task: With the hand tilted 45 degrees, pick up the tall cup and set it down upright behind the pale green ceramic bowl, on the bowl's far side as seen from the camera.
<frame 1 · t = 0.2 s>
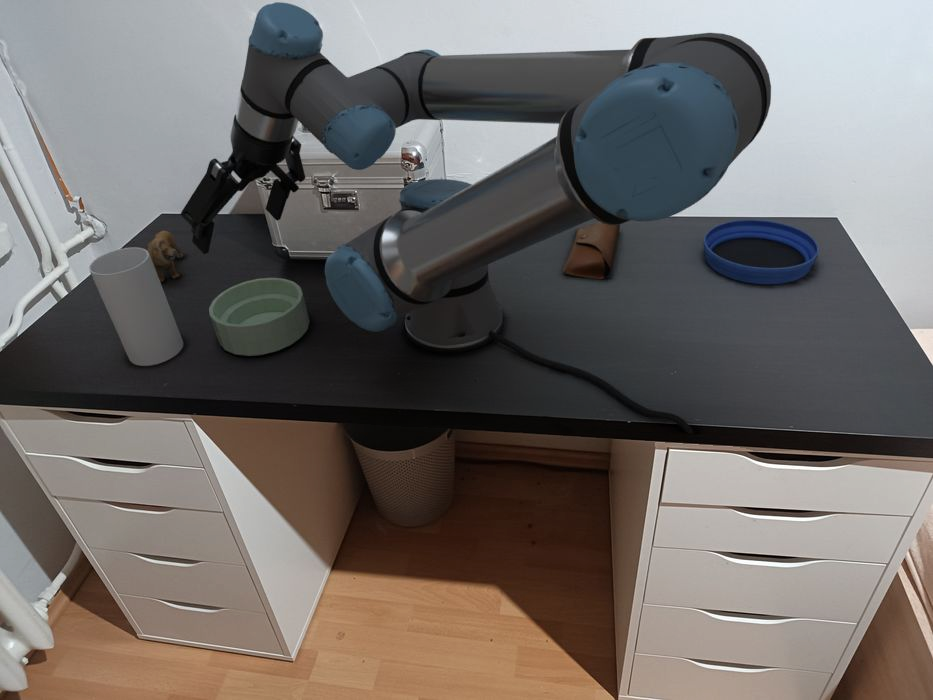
hand: (238, 230, 103), 16 cm above the table, tool tilted 35°, fingers open, 13 cm apart
sunglasses case: (592, 254, 123), on the table
ceramic bowl: (265, 332, 110), on the table
lion figurine: (173, 272, 129), on the table
cup: (156, 351, 108), on the table
blue plastic ring: (756, 261, 117), on the table
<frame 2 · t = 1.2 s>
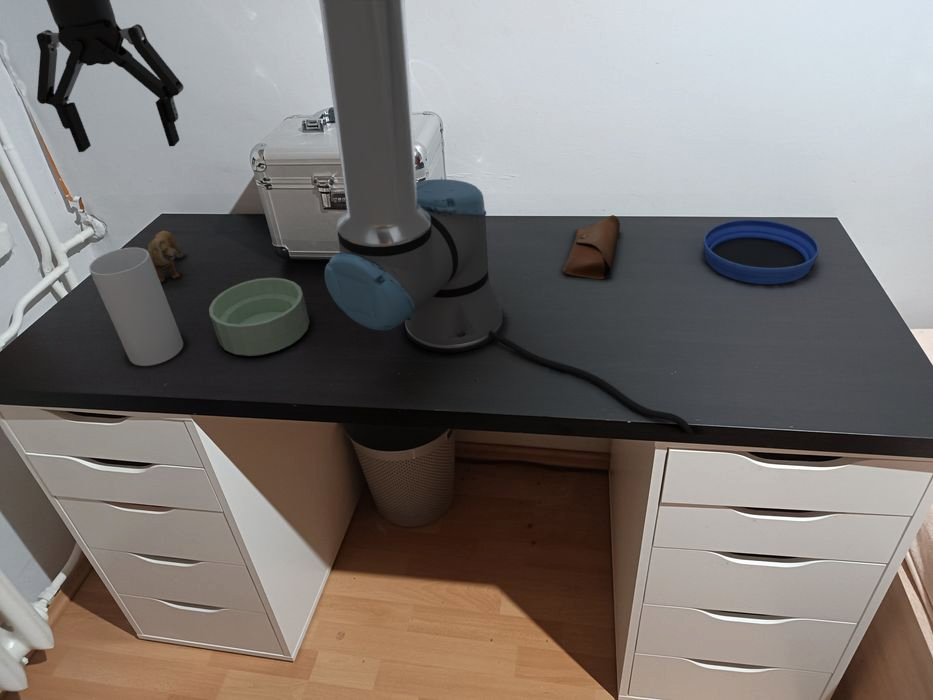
hand: (129, 146, 104), 28 cm above the table, tool pointing down, fingers open, 13 cm apart
nothing on the table moved.
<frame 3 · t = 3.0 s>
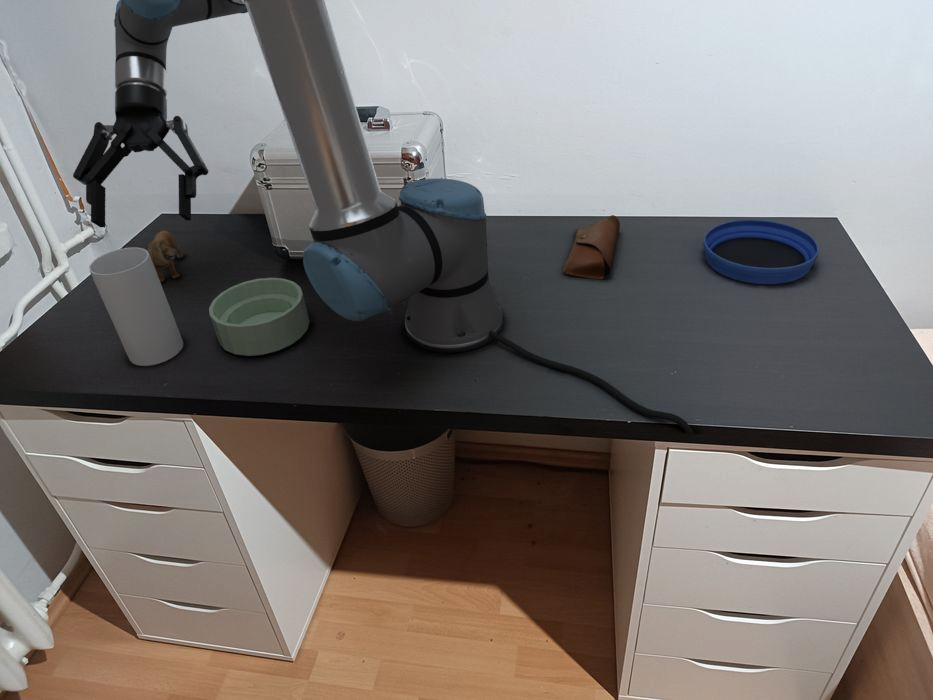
hand: (141, 221, 106), 17 cm above the table, tool tilted 45°, fingers open, 13 cm apart
nothing on the table moved.
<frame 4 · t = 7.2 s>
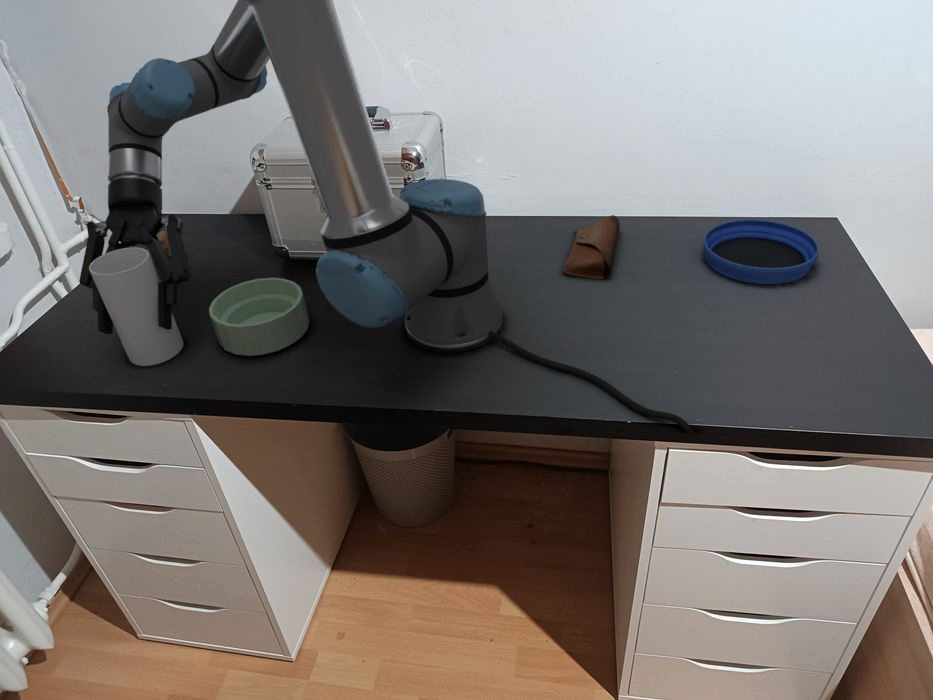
hand: (135, 329, 101), 6 cm above the table, tool tilted 45°, fingers closed on cup, 8 cm apart
cup: (156, 351, 108), on the table, touching gripper
everything else where it was.
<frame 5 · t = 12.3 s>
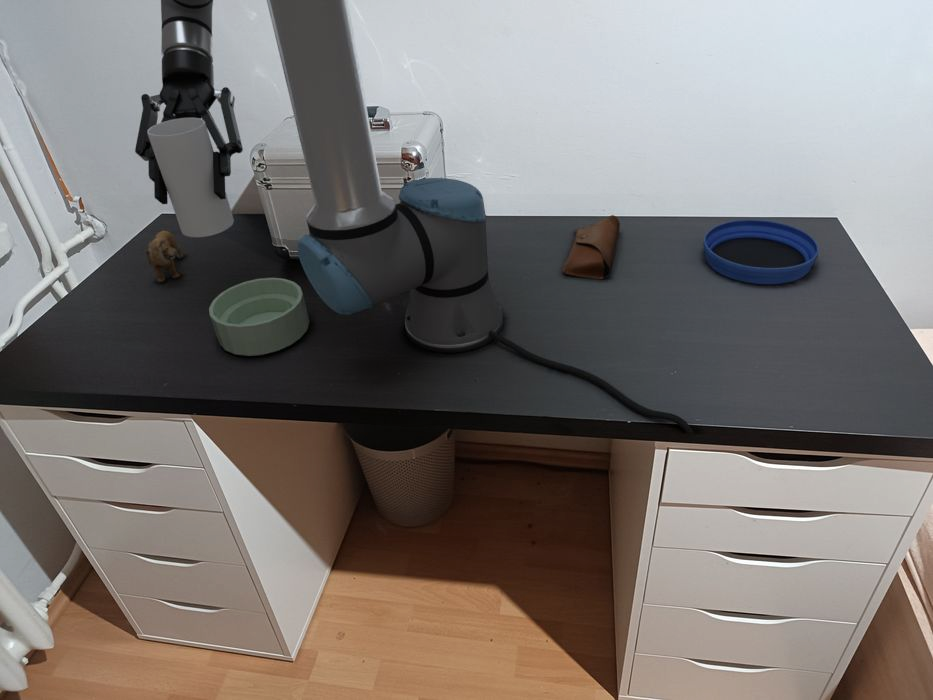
hand: (190, 198, 103), 21 cm above the table, tool tilted 45°, fingers closed on cup, 8 cm apart
cup: (208, 226, 110), point 14 cm above the table, touching gripper
everything else where it was.
when the fingers open (6 cm above the table, at t = 17.3 s): cup stays where it is, on the table.
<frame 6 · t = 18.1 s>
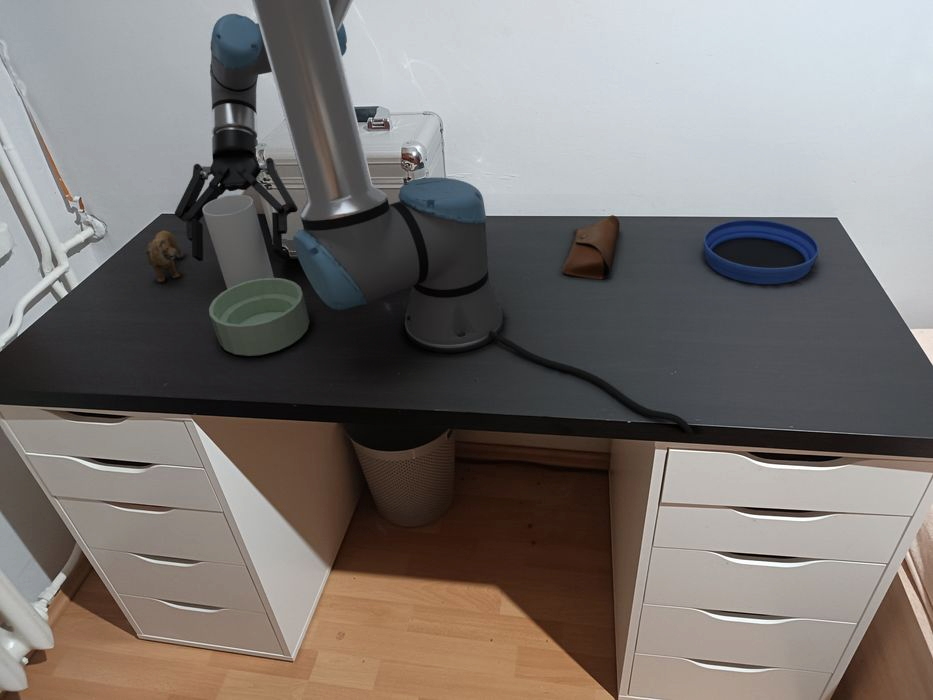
hand: (237, 255, 115), 8 cm above the table, tool tilted 45°, fingers open, 13 cm apart
cup: (252, 289, 122), on the table
everything else where it was.
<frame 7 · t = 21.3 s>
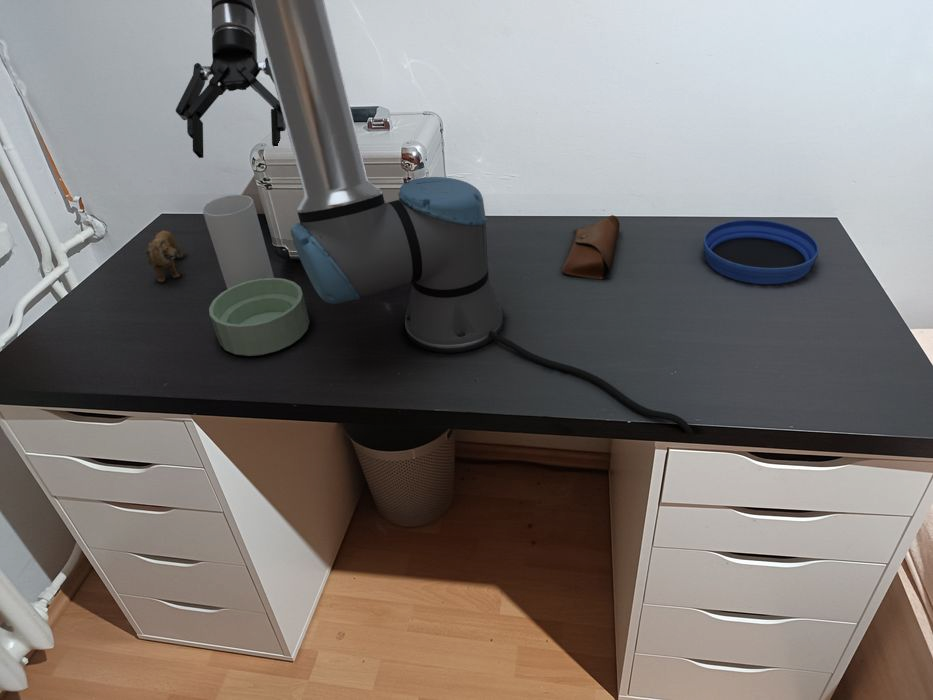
hand: (237, 151, 118), 21 cm above the table, tool tilted 45°, fingers open, 13 cm apart
nothing on the table moved.
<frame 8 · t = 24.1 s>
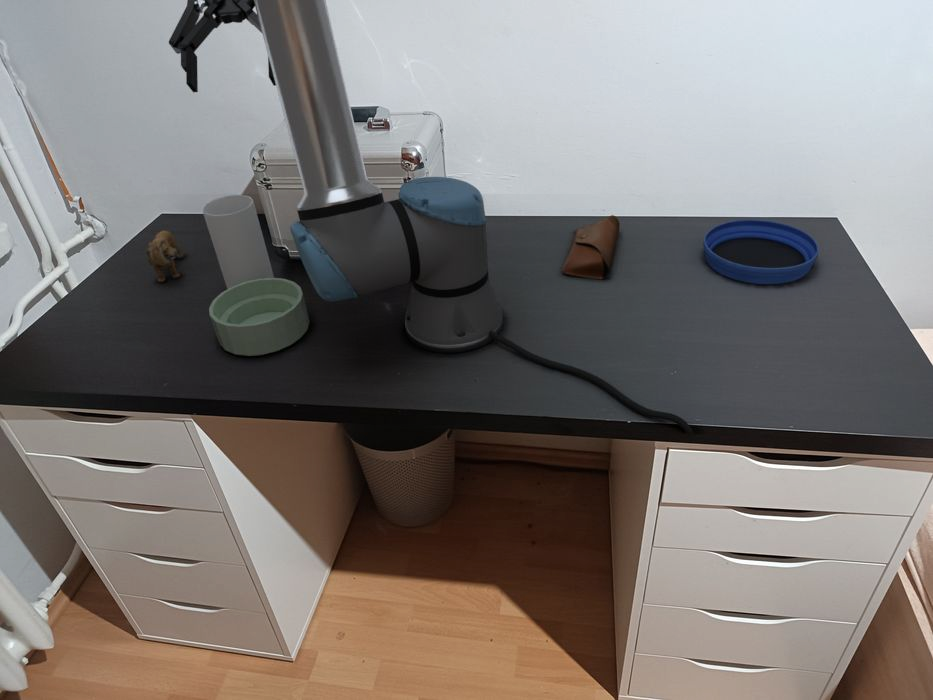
hand: (232, 84, 113), 32 cm above the table, tool tilted 45°, fingers open, 13 cm apart
nothing on the table moved.
at the end: cup inside the target area on the table beside the ceramic bowl (0.4 cm from its centre), on the table; cup tilted 0°; the gripper is holding nothing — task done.
